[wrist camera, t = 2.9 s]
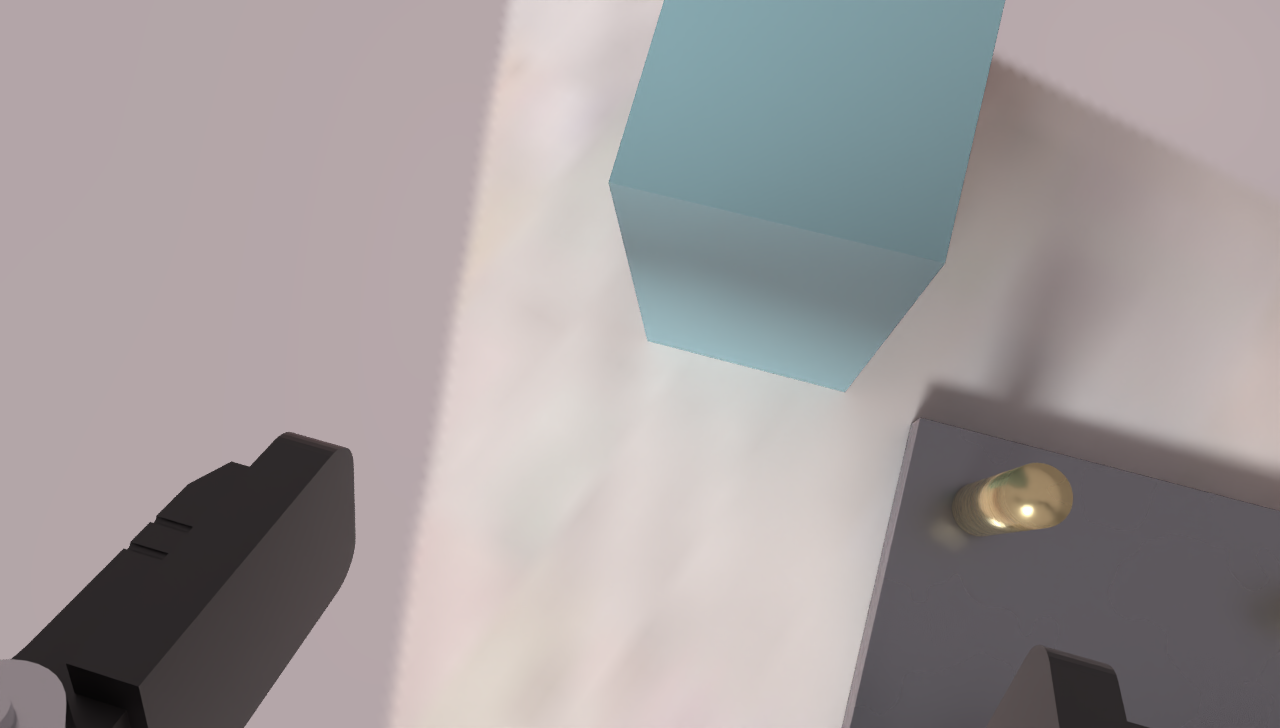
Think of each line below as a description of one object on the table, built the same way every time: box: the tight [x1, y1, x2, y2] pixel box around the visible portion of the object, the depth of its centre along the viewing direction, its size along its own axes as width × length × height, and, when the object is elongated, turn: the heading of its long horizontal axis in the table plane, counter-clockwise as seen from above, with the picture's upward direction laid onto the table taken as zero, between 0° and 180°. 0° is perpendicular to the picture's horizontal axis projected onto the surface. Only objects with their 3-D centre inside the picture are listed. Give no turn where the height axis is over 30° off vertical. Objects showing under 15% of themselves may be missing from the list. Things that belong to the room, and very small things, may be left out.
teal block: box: [609, 0, 1005, 392], centre depth 19 cm, size 5×5×10 cm
